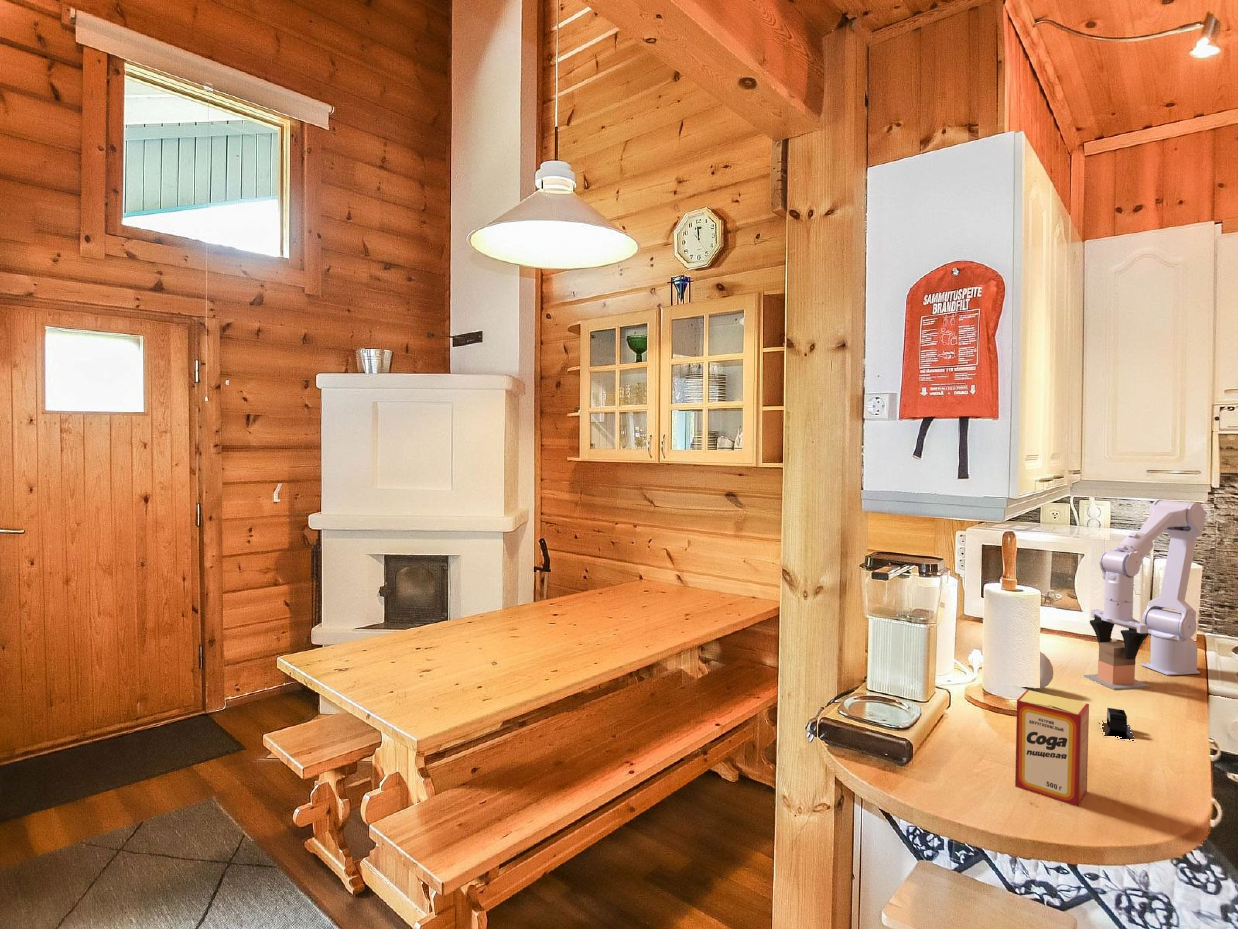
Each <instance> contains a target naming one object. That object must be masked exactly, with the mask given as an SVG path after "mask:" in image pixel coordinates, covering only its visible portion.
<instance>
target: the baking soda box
mask: <svg viewBox="0 0 1238 929" xmlns="http://www.w3.org/2000/svg"><path fill="white" fill-rule="evenodd" d="M1089 722H1090V703H1087V702H1082V701H1080V700H1074V699H1070V698H1066V697H1063V696H1058V695H1051V694H1048V693H1042V692H1038V691H1034V690H1031V689H1027V690H1025V692H1023V694H1022V695H1020V697H1019V698H1018V699H1016V727H1015V728H1016V729H1015V731H1016V733H1015V734H1016V739H1015V772H1014V773H1015V776H1014V778H1015V779H1014V787H1016V788H1019V789H1021V790H1025V791H1028V792H1030V793H1031V792H1032V793H1034V794H1037V795H1040V794H1041V795H1040V796H1044V797H1046V798H1049V799H1053V800H1055V801H1059V802H1062V803H1066V804H1068V805H1072V806H1074V807H1079V806H1080V805H1081V803H1082V802H1083V799H1084V798H1085V796H1086V794H1087V792H1088V767H1089V766H1088V762H1089V761H1088V759H1089V756H1088V755H1089V754H1088V753H1089V724H1090V723H1089Z"/></svg>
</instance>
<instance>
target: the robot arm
mask: <svg viewBox="0 0 1238 929" xmlns="http://www.w3.org/2000/svg"><path fill="white" fill-rule="evenodd" d="M1148 512H1149V515H1148V516H1149V517H1148V518H1147V519H1146V521H1145V522H1144V523H1143V525H1142V526H1141V527H1140V528H1139V530H1138V531H1136V532H1135V531H1134V532H1130V533H1128V535H1126V537H1125V538H1124V539H1122V541H1121V542H1120V543H1119V544H1118V545H1117V546H1116V547H1115V548H1114V549H1113V550H1112V549H1110V550H1107V551H1104V552H1103V554H1102V555H1101V556H1100V557H1101V558H1100V561H1099V568H1100V570H1101V572H1102V579H1103V580H1104V604H1103V606H1104V610H1101V609H1090V618H1093V619H1091V620H1089V624H1090V626H1091V628H1092V629H1093V631H1094V633H1095V636H1096V639H1097V643H1098V644H1099V643H1101V642H1112V640H1111V639H1112V638H1111V637H1112V633H1113V629H1114V627H1115V625H1116V626H1119V627H1121V628H1125V629H1123V630H1120V634H1121V636H1122V640H1123V642H1124V645H1125V657H1126V659H1135V658H1137V655H1138V653H1139V650H1140V649H1141V648H1140V647H1141V645H1142V644H1143V643H1144V642H1145V640H1146V638H1147V637H1148V636H1149V634H1150V656H1149V657H1150V659H1149V662H1141V663H1140V665H1141V666H1143V667H1145V668H1147V669H1150V670H1153V671H1156V672H1158V673H1161V674H1164V675H1167V676H1177V675H1178V676H1179V675H1181V676H1182V675H1194V674H1200V673H1201V671H1199V670H1198V646H1197V644H1196V642H1195V640H1194V639H1193V638H1192V637H1193V636H1194V635H1195V634H1196V631H1197V620H1196V619H1197V618H1196V617H1197V611H1196V610H1195V609H1194V608H1193V607H1192V606H1191V605H1190V604H1189V603H1188V602H1187V601H1186V597H1187V596H1186V595H1187V591H1188V585H1189V579H1190V574H1191V568H1192V563H1193V557H1194V552H1195V546H1196V542H1197V541H1196V540H1197V538H1198V537H1200V536H1202V535H1203V531H1204V526H1205V523H1206V522H1205V521H1206V515H1207V514H1206V512H1205V509H1204V507H1203V506H1202V504H1201V503H1199V502H1187V501H1186V502H1185V501H1176V500H1175V501H1174V500H1163V499H1156V500H1154V501H1153V503H1151V505H1150V506H1149V511H1148ZM1163 532H1164V533H1166V534H1167V535H1168V537H1169V538H1170V540H1169V545H1168V546H1169V547H1168V550H1167V557H1166V562H1165V567H1164V571H1163V572H1164V573H1163V578H1162V584H1161V587H1160V593H1159V594H1160V595H1159V596H1158V597H1155V598H1153V599H1151V600H1149V601H1148V602H1147V607H1146V609H1145V610H1144V612H1143V614H1142V618H1141V619H1142V620H1141V621H1142V622H1140V621H1138V620H1137V619H1135V618H1134V613H1133V612H1134V586H1135V584H1134V583H1135V582H1134V581H1135V576H1137V575H1138V574H1139V572H1140V570H1141V566H1142V564H1143V559H1144V558H1145V557H1146V556H1147V555H1148V554H1149V553H1150V552H1151V551H1152V550H1153V548H1154V543H1153V541H1154V540H1155V539H1157V538H1158V536H1160V535H1161V534H1163ZM1166 609H1169V610H1166ZM1173 610H1174V611H1173Z"/></svg>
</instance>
